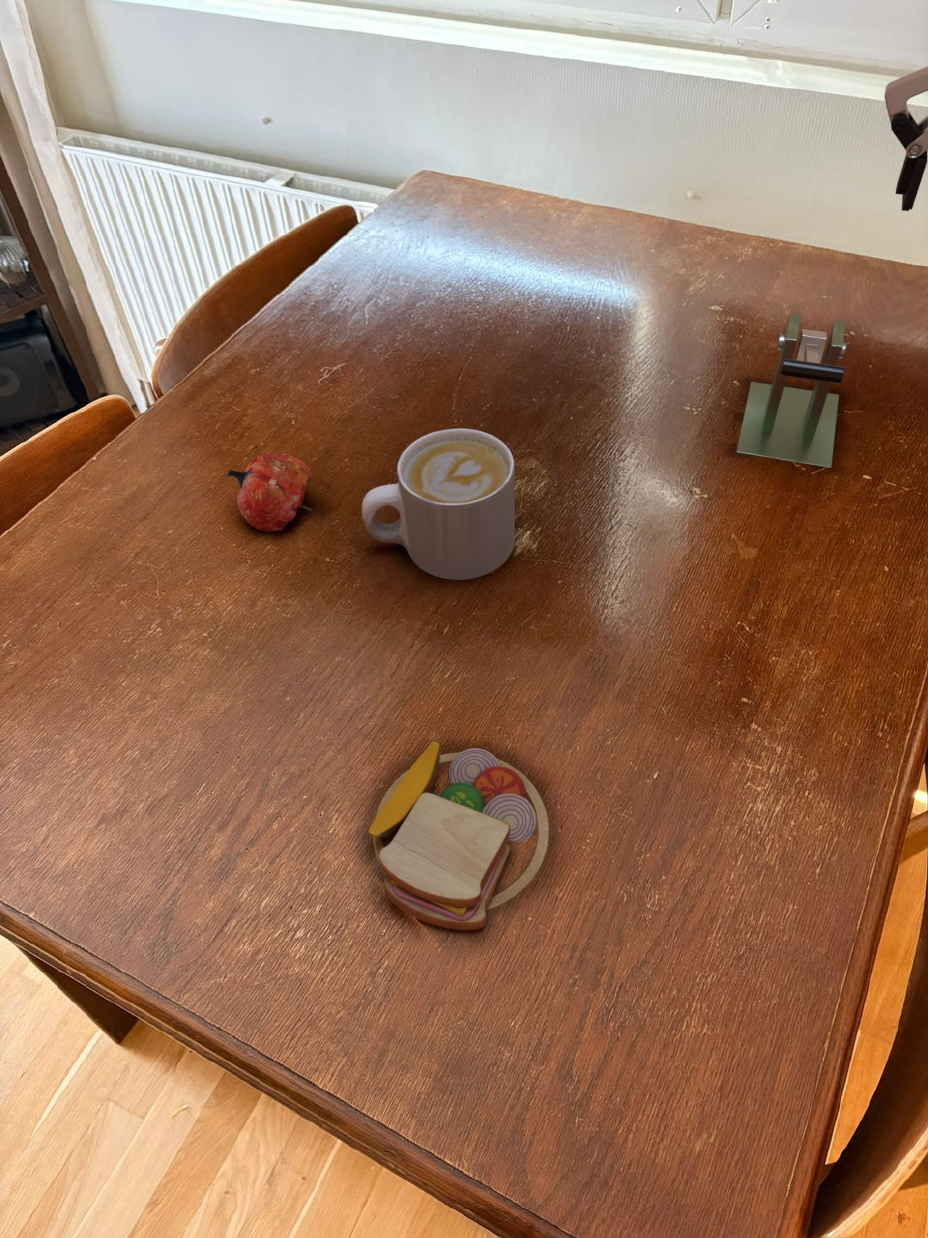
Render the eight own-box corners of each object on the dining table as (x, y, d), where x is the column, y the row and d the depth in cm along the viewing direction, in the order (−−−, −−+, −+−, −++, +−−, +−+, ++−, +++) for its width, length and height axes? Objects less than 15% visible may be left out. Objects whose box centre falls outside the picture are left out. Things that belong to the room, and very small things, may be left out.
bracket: (828, 476, 87) (864, 373, 78) (734, 461, 89) (758, 358, 80) (836, 403, 94) (869, 301, 85) (748, 390, 97) (773, 289, 88)
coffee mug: (516, 512, 86) (516, 428, 78) (512, 589, 80) (512, 506, 72) (378, 509, 87) (365, 427, 79) (364, 586, 81) (348, 503, 73)
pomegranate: (319, 506, 91) (229, 456, 87) (352, 471, 86) (257, 416, 82) (298, 563, 87) (203, 514, 83) (330, 531, 82) (230, 476, 78)
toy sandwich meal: (579, 809, 66) (583, 777, 62) (481, 969, 58) (479, 942, 55) (438, 734, 70) (433, 699, 67) (331, 873, 63) (320, 843, 60)
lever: (838, 391, 76) (846, 363, 75) (778, 382, 78) (785, 354, 76) (834, 359, 85) (842, 333, 84) (780, 351, 87) (787, 326, 85)
